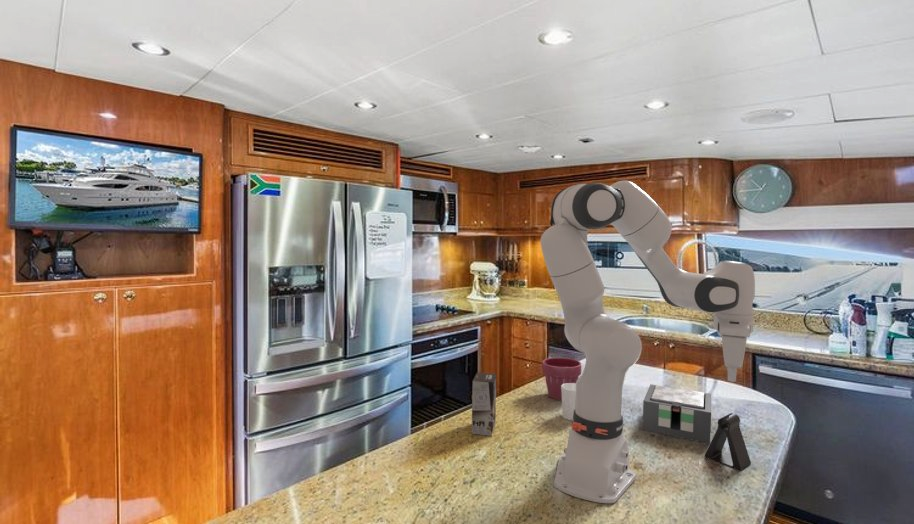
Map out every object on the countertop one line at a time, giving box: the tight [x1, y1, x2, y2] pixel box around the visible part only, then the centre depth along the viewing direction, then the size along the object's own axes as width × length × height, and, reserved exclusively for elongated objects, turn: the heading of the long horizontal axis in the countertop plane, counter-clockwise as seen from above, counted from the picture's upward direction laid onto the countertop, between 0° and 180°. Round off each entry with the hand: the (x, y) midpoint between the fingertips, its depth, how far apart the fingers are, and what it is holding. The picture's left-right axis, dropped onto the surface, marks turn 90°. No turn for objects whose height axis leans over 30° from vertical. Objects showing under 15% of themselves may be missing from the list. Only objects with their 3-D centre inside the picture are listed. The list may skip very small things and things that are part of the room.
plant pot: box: [541, 357, 582, 401], centre depth 166 cm, size 14×14×13 cm
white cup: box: [561, 383, 576, 422], centre depth 147 cm, size 8×8×10 cm
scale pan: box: [651, 384, 705, 409], centre depth 139 cm, size 17×14×1 cm
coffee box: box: [471, 372, 497, 437], centre depth 137 cm, size 9×6×16 cm
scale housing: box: [642, 383, 712, 444], centre depth 141 cm, size 18×18×9 cm
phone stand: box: [704, 412, 752, 472], centre depth 119 cm, size 9×6×12 cm, turn 36°
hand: (730, 375), depth 118 cm, fingers open, 8 cm apart
